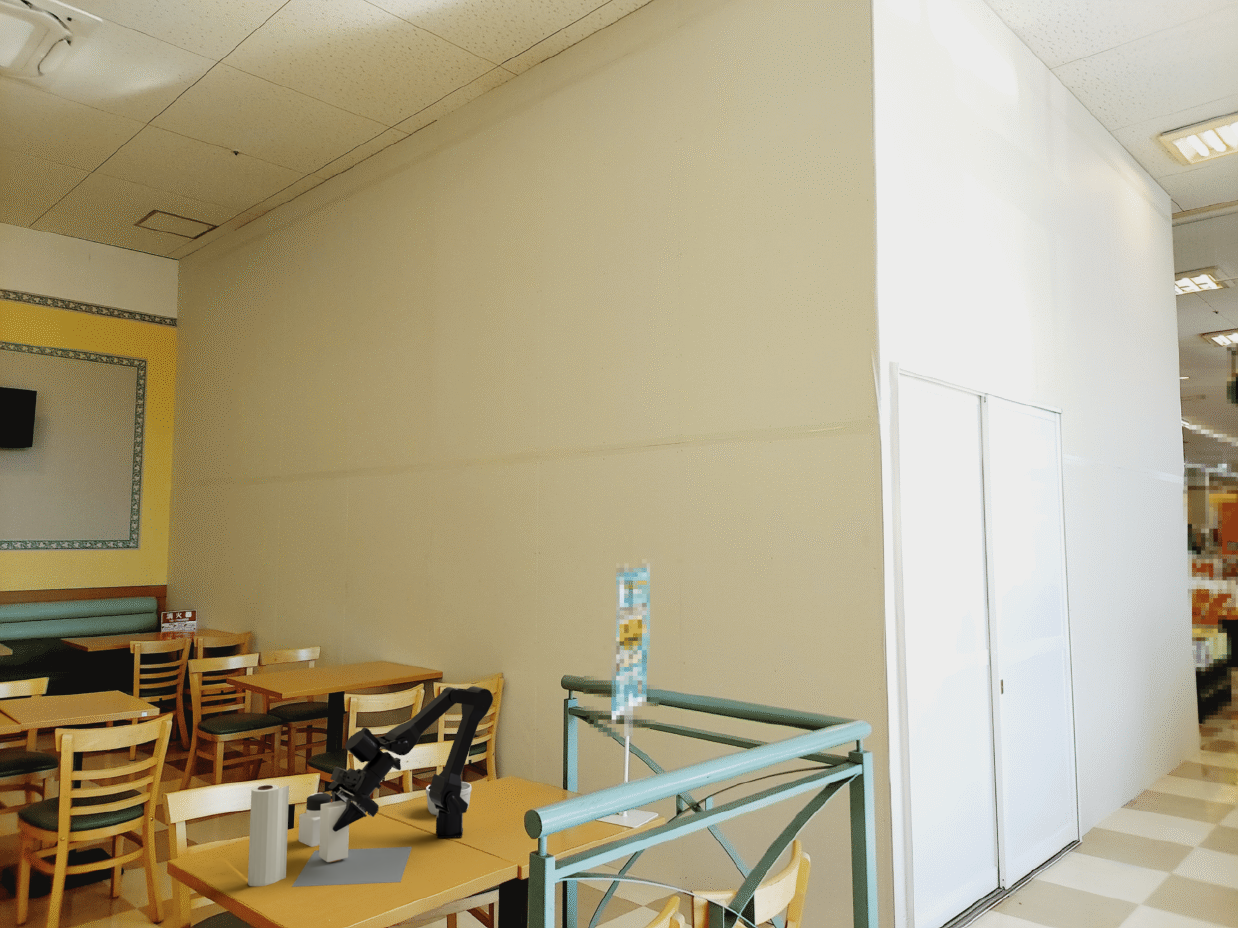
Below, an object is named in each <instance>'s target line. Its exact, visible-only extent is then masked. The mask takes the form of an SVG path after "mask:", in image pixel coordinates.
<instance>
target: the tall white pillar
mask: <svg viewBox="0 0 1238 928" xmlns="http://www.w3.org/2000/svg"><path fill="white" fill-rule="evenodd" d="M345 809H346V803H345V802H343V801H335V802H332V801H331V802H330V803H325V804H321V811H320V842H319V845H318V846H319V847H318V849H319V857H321V858H322V859H323V860H325V861H326V862H330V861H335V860H339V859H343V858H348V849H349V840H350V839H349V838H350V837H349V836H350V835H349V833H350V824H349V825H347V826H345V827H344V828H342V829H340V830H338V831H336V832H335V831H334V830H333V827H334V825H335V824H336V822H337V821H338V819H339V818H340V816H341V815H342V813H343V812H344V810H345Z"/></svg>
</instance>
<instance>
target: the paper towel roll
mask: <svg viewBox="0 0 1238 928" xmlns="http://www.w3.org/2000/svg"><path fill="white" fill-rule="evenodd" d="M250 791H251V792H250V793H251V795H250V817H249V818H250V819H249V820H250V821H249V822H250V824H249V843H248V844H249V847H248V870H247V871H248V872H247V885H248V886H249V887H265V886H268V885H272V884H274V883H277V882H279V881H281V880H283V879H286V878H287V857H288V856H287V854H288V853H287V851H288V830H289V829H288V828H289V827H288V825H289V824H288V822H289V801H290V800H289V799H290V796H289V795H290V794H289V793H290V785H285V786H282V787H280V785H278V784H277V785H276V784H262V785H261V784H260V785H257V786H254V787H252V788H251V790H250Z"/></svg>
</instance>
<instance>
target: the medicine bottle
mask: <svg viewBox="0 0 1238 928" xmlns="http://www.w3.org/2000/svg"><path fill="white" fill-rule="evenodd" d="M330 802H332V795H331V794H329V793H327V792H316V793H312V794H309V795H308V796H307V797H306V808H305V809H306V812H304V813H303V812H302V813H300V814H299V816H298V822H299V823H298V842H300V843H302V844H305V845H307V846H309V847H311V848H314V847H317V846H319V842H320V811H321V804H325V803H330Z"/></svg>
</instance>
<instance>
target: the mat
mask: <svg viewBox="0 0 1238 928" xmlns="http://www.w3.org/2000/svg"><path fill="white" fill-rule="evenodd" d="M412 848H413V847H412V846H399V847H395V846H394V847H372V848H369V847H368V848H348V858H343V859H341V860H339V861H335V862H331V863H330V862H326V861H325V860H323V859H322V858H321V857H319V850H314V851H313V853H312V854H311V856H310V857H309V859H308V861H307V862H306V864H305V865H304V867H303V868H302V870H301V871H300V873H299V874H298V876H297V878H296V879H295V881H294V882H293V883H292V886H291V888H293V887H296V888H297V887H299V888H301V887H319V886H320V887H321V886H323V887H324V886H343V885H344V886H345V885H364V884H388V883H389V884H390V883H401V881H402V880H403V875H404V872H405V869H406V866H407V863H408V862H409V861H408V860H409V857H410V855H411V851H412Z"/></svg>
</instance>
